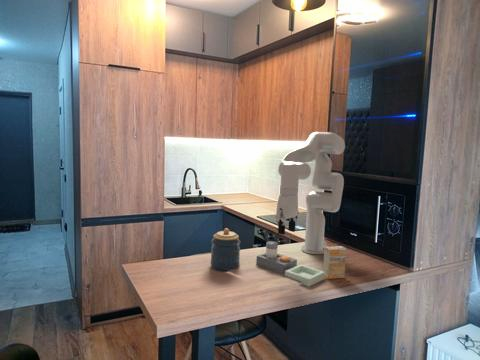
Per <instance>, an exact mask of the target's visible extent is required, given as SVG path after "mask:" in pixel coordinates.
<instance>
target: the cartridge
mask: <svg viewBox="0 0 480 360" xmlns="http://www.w3.org/2000/svg"><path fill="white" fill-rule="evenodd" d="M278 245H279V243H278V242H276V241H273V240H272V241H266V243H265V253H266V257H267V258H270V259H275V258H277V254H278V248H279V246H278Z"/></svg>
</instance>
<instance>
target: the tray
mask: <svg viewBox="0 0 480 360" xmlns="http://www.w3.org/2000/svg"><path fill="white" fill-rule="evenodd" d="M284 277H287V278H290V279H293V280H296V281H299V282H298V284H301V285H303V286H306V287H311V286H313V285H315V284H317V283H319V282H321V281H324V280H325V272H323V270H319V269H317V268H313V267H310V266H307V265H304V264H302V263H301V264H297V266H296V267H293V268H291V269H288V270H286V271H285V273H284Z"/></svg>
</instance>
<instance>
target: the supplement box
mask: <svg viewBox="0 0 480 360" xmlns="http://www.w3.org/2000/svg"><path fill="white" fill-rule="evenodd" d="M324 248H325V249H324V254H323V262H322V271H323V272H325V277H324V279H327V280H331V279H332V280H333V279H345V273H346V264H347V263H346V260H347V250H348V249H347V248H346V247H344V246H343V245H338V246H337V245H333V246H328V245H327V246H326V245H324Z"/></svg>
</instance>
